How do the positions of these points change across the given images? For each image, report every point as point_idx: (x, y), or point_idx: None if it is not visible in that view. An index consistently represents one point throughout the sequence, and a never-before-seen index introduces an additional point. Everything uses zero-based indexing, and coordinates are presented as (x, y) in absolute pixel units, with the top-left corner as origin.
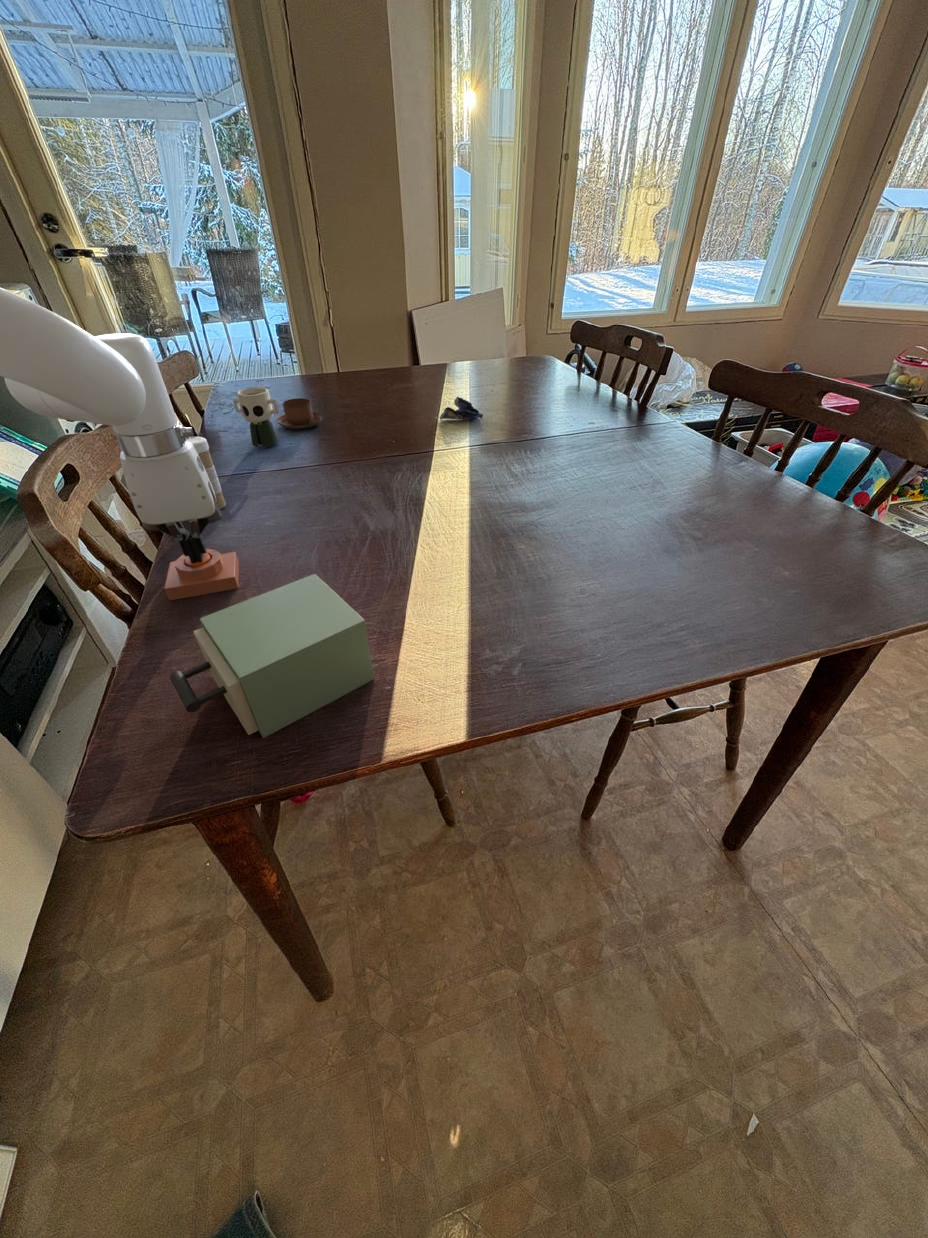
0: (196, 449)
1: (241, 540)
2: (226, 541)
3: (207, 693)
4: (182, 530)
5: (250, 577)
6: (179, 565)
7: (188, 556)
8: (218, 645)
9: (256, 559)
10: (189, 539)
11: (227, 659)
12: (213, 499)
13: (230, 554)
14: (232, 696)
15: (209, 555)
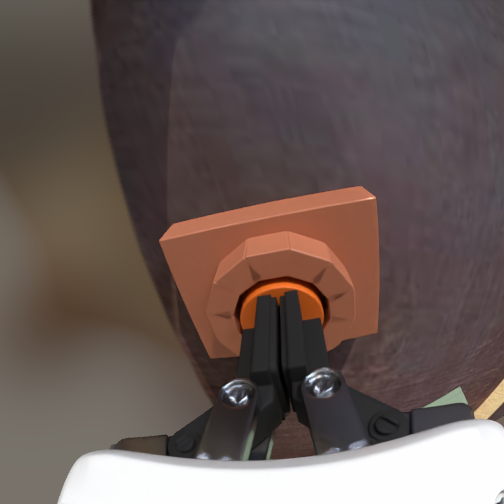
0: None
1: (335, 35)
2: (281, 32)
3: None
4: (265, 422)
5: (394, 267)
6: (231, 341)
7: (245, 309)
8: None
9: (408, 174)
10: (293, 409)
11: None
12: (497, 426)
13: (362, 216)
14: None
15: (321, 308)
